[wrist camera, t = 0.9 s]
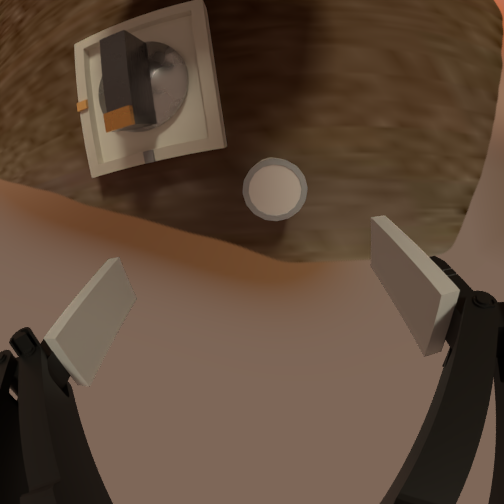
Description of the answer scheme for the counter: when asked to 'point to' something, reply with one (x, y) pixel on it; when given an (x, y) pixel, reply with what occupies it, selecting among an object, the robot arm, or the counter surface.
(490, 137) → the counter surface
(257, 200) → the shot glass
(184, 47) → the housing
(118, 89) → the dial
